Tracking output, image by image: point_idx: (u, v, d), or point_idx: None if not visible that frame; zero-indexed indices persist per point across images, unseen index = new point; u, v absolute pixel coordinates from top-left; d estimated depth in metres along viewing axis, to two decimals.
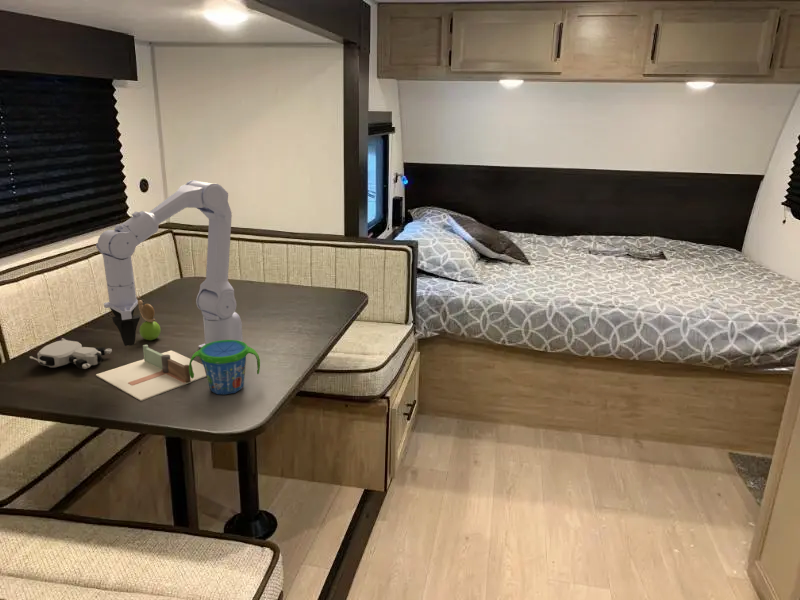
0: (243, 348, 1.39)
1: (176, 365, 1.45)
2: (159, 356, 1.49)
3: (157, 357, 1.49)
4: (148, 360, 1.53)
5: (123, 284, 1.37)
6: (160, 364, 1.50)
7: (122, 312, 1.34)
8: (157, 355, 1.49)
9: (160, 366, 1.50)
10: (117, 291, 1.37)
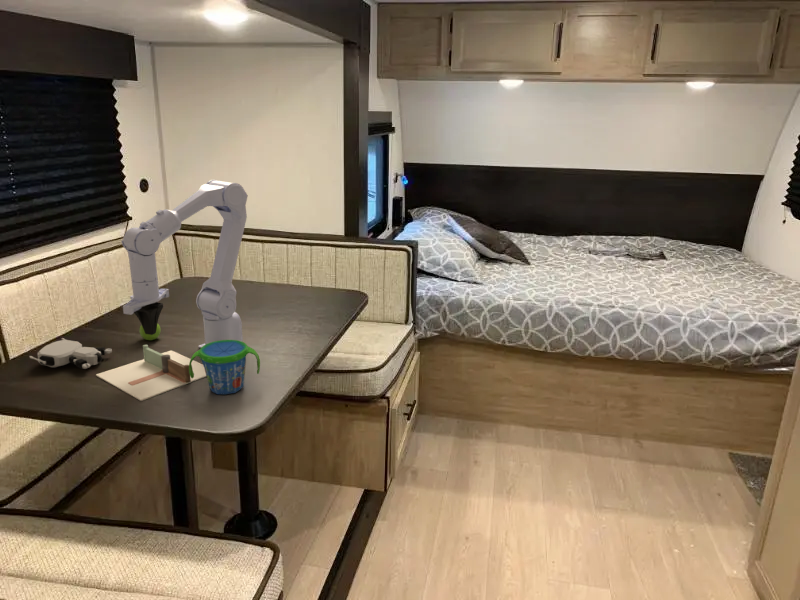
0: (243, 348, 1.39)
1: (176, 365, 1.45)
2: (159, 356, 1.49)
3: (157, 357, 1.49)
4: (148, 360, 1.53)
5: (147, 280, 1.41)
6: (160, 364, 1.50)
7: (123, 306, 1.39)
8: (157, 355, 1.49)
9: (160, 366, 1.50)
10: (134, 286, 1.42)
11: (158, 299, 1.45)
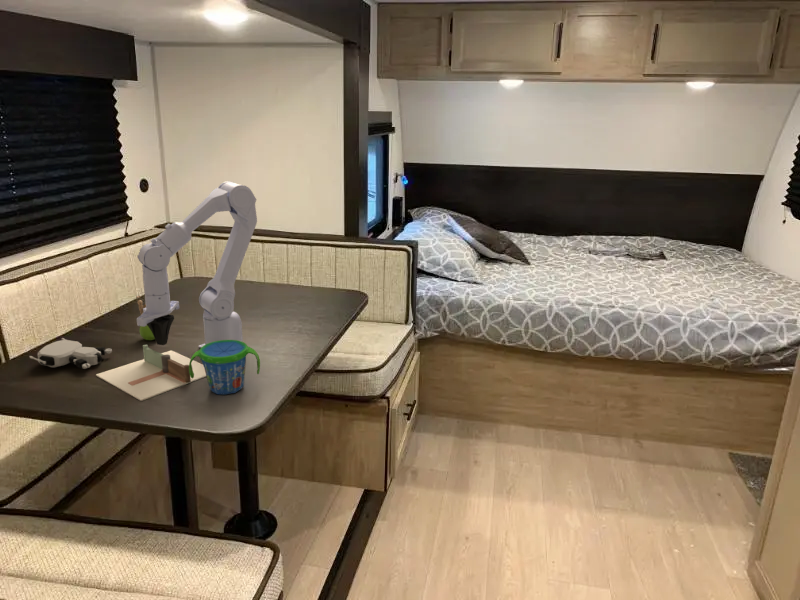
0: (243, 348, 1.39)
1: (176, 365, 1.45)
2: (159, 356, 1.49)
3: (157, 357, 1.49)
4: (148, 360, 1.53)
5: (156, 294, 1.49)
6: (160, 364, 1.50)
7: (137, 319, 1.46)
8: (157, 355, 1.49)
9: (160, 366, 1.50)
10: (147, 299, 1.49)
11: (169, 311, 1.52)
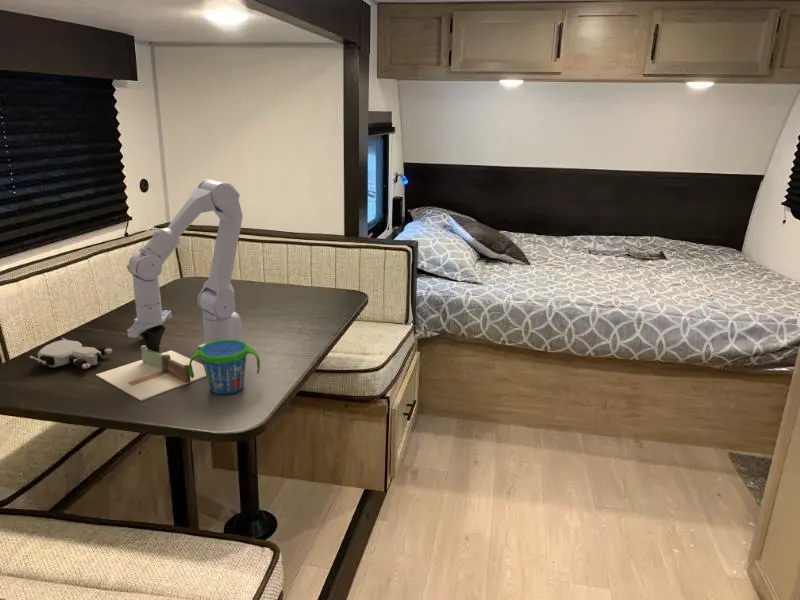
0: (243, 348, 1.39)
1: (176, 365, 1.45)
2: (159, 356, 1.49)
3: (157, 357, 1.49)
4: (146, 361, 1.53)
5: (149, 304, 1.46)
6: (160, 364, 1.49)
7: (128, 330, 1.44)
8: (156, 355, 1.49)
9: (160, 366, 1.50)
10: (138, 309, 1.47)
11: (161, 322, 1.50)
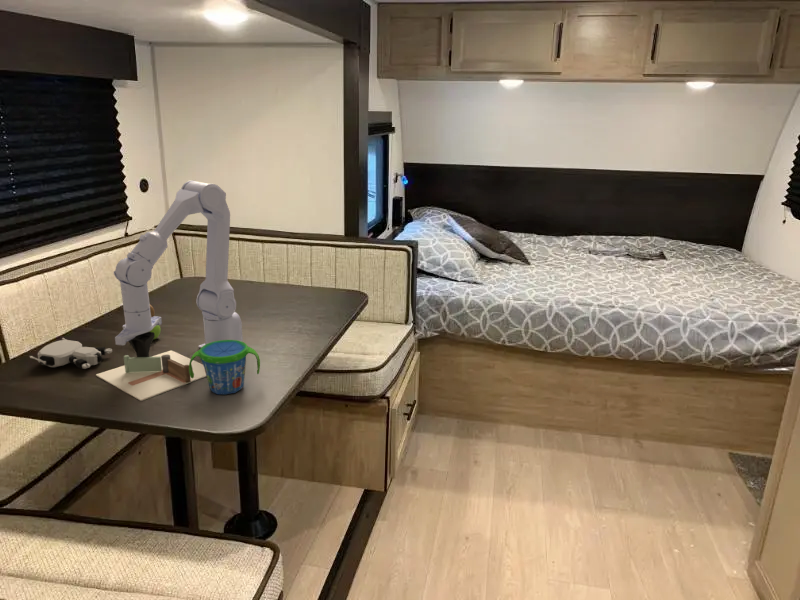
0: (243, 348, 1.39)
1: (176, 365, 1.45)
2: (156, 359, 1.47)
3: (153, 360, 1.47)
4: (133, 370, 1.47)
5: (139, 310, 1.42)
6: (157, 367, 1.48)
7: (115, 337, 1.39)
8: (152, 359, 1.47)
9: (157, 369, 1.48)
10: (126, 316, 1.42)
11: (150, 328, 1.45)
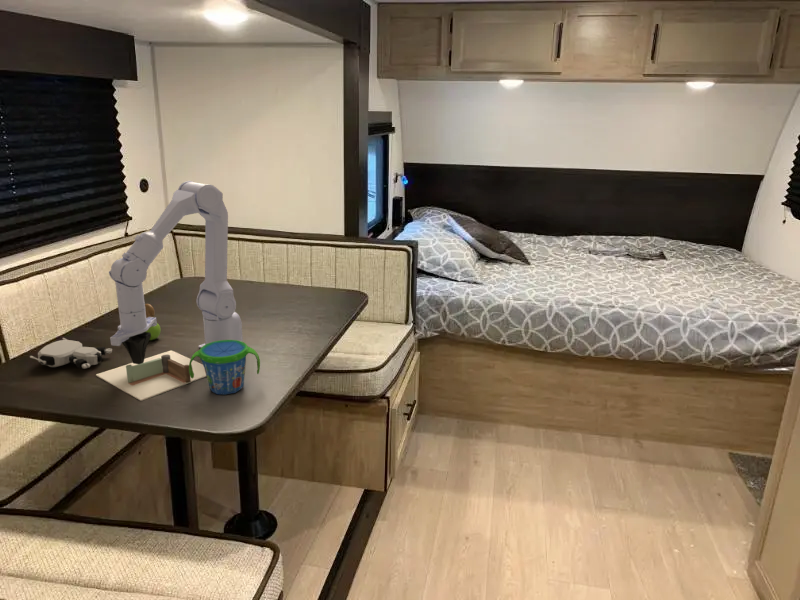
0: (243, 348, 1.39)
1: (176, 365, 1.45)
2: (158, 361, 1.46)
3: (155, 363, 1.46)
4: (136, 378, 1.43)
5: (134, 311, 1.41)
6: (159, 369, 1.47)
7: (111, 338, 1.39)
8: (154, 362, 1.46)
9: (159, 371, 1.47)
10: (121, 316, 1.42)
11: (146, 329, 1.45)
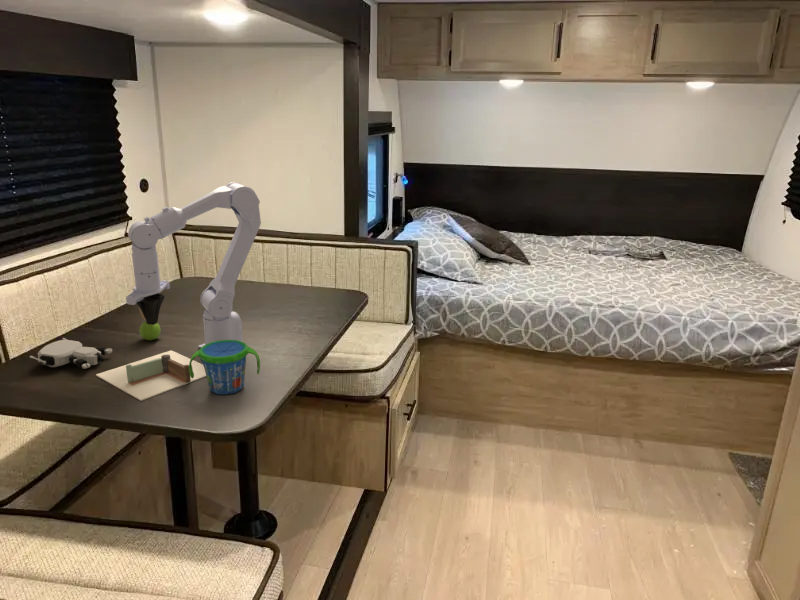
0: (243, 348, 1.39)
1: (176, 365, 1.45)
2: (158, 361, 1.46)
3: (155, 363, 1.46)
4: (136, 378, 1.43)
5: (144, 272, 1.47)
6: (159, 369, 1.47)
7: (126, 297, 1.45)
8: (154, 362, 1.46)
9: (159, 371, 1.47)
10: (136, 277, 1.48)
11: (159, 290, 1.51)
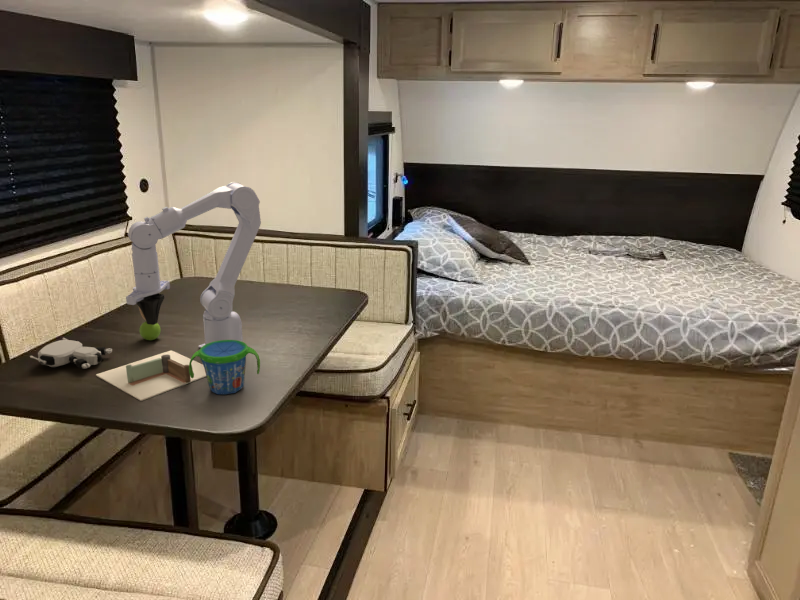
0: (243, 348, 1.39)
1: (176, 365, 1.45)
2: (158, 361, 1.46)
3: (155, 363, 1.46)
4: (136, 378, 1.43)
5: (144, 272, 1.47)
6: (159, 369, 1.47)
7: (126, 297, 1.45)
8: (154, 362, 1.46)
9: (159, 371, 1.47)
10: (136, 277, 1.48)
11: (159, 290, 1.51)
